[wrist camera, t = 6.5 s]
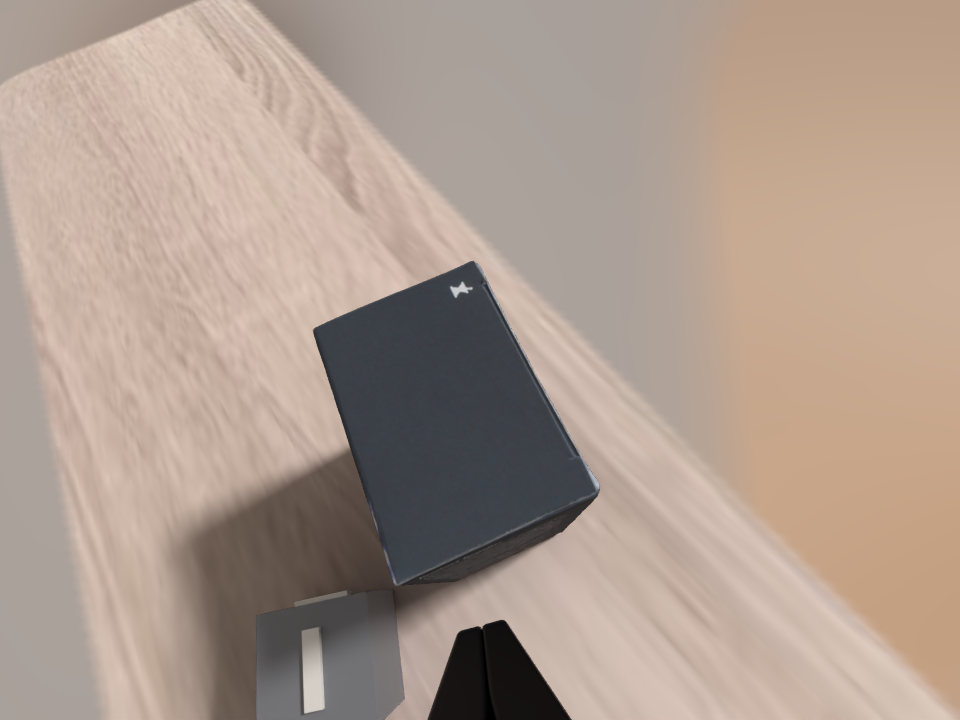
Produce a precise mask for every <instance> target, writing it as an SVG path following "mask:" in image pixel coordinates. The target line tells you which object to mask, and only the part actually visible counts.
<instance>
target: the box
mask: <svg viewBox="0 0 960 720" xmlns="http://www.w3.org/2000/svg"><path fill="white" fill-rule="evenodd" d="M313 333H314V337H315V340H316V343H317V347H318V350H319V353H320V356H321V359H322V361H323V364H324V367H325V370H326V373H327V377H328V380H329V383H330V386H331V389H332V392H333V395H334V398H335V402H336V405H337V408H338V411H339V414H340V417H341V420H342V423H343V426H344V429H345V433H346V436H347V439H348V442H349V445H350V449H351V452H352V455H353V458H354V461H355V464H356V467H357V470H358V473H359V476H360V479H361V482H362V486H363V489H364V492H365V495H366V498H367V501H368V503H369V506H370V509H371V513H372V516H373V519H374V523H375V526H376V529H377V532H378V535H379V538H380V541H381V544H382V547H383V550H384V554H385V557H386V561H387V564H388V567H389V570H390V574H391V577H392V580H393V583H394V585H396V586H404V585H413V584H429V583H440V582H453V581H457V580H459V579H461V578H463V577H465V576H467V575H469V574H472V573H474V572H476V571H478V570H480V569H482V568H485V567H487V566H489V565H491V564H493V563H495V562H497V561H499V560H502V559H504V558H506V557H508V556H510V555H512V554H515V553H517V552H519V551H521V550H523V549H525V548H527V547H530V546H532V545H534V544H536V543H538V542H541V541H543V540H545V539H547V538H549V537H551V536H554V535H555V534H557V533H560V532H563V531H564V530H565V529H566V528H567V527H568V526H569V524H571V523H572V522H573V521H574V520H575V519H576V518H577V517H578V516H579V515H580V514H581V513H582V511H584V510H585V509H586V508H587V507H588V506H589V505H590V504H591V503H592V502H593V501H594V499H595V498H596V497H597V496H598V494H599V491H600V484H599V482H598V480H597V479H596V477H595V476H594V475H593V473H592V472H591V470H590V469H589V467H588V465H587V464H586V462H585V461H584V459H583V457H582V456H581V454H580V452H579V450H578V449H577V447H576V445H575V443H574V442H573V440H572V438H571V437H570V435H569V433H568V431H567V430H566V428H565V426H564V424H563V422H562V420H561V418H560V417H559V415H558V413H557V411H556V409H555V407H554V405H553V404H552V402H551V400H550V399H549V397H548V395H547V393H546V391H545V390H544V388H543V386H542V384H541V383H540V381H539V379H538V377H537V376H536V374H535V372H534V370H533V368H532V366H531V364H530V362H529V360H528V358H527V356H526V354H525V352H524V351H523V349H522V347H521V345H520V343H519V341H518V339H517V337H516V335H515V334H514V332H513V330H512V328H511V327H510V325H509V323H508V320H507V318H506V316H505V314H504V313H503V311H502V309H501V307H500V305H499V303H498V301H497V299H496V297H495V295H494V293H493V291H492V289H491V287H490V285H489V283H488V281H487V279H486V277H485V275H484V273H483V271H482V269H481V267H480V266H479V264H478V263H475V262H474V261H470V262H468V263H466V264H464V265H462V266H460V267H458V268H455V269H453V270H451V271H448V272H446V273H444V274H441V275H439V276H436V277H434V278H432V279H429V280H427V281H424V282H422V283H419V284H417V285H414V286H412V287H409V288H407V289H405V290H402V291H400V292H397V293H394V294H392V295H390V296H387V297H385V298H382V299H380V300H377V301H375V302H372V303H370V304H368V305H365V306H363V307H360V308H358V309H356V310H353V311H351V312H349V313H347V314H344V315H342V316H340V317H337V318H335V319H333V320H331V321H328V322H326V323H324V324H322V325H320V326H318V327H316V328H314V330H313Z"/></svg>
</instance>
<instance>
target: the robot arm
mask: <svg viewBox="0 0 960 720" xmlns="http://www.w3.org/2000/svg"><path fill="white" fill-rule="evenodd" d="M428 720H572V719H571V718H570V716H569V715H568V713H567V712H566V710H565V709H564V707H563V706H562V704H561V703H560V701H559V700H558V698H557V697H556V695H555V694H554V692H553V691H552V689H551V688H550V686H549V685H548V683H547V682H546V680H545V679H544V677H543V676H542V674H541V673H540V671H539V670H538V668H537V667H536V666H535V664H534V663H533V661H532V660H531V658H530V657H529V655H528V654H527V652H526V651H525V649H524V648H523V646H522V645H521V643H520V642H519V640H518V639H517V637H516V636H515V634H514V633H513V631H512V630H511V628H510V627H509V625H508V624H507V622H506V621H504V620H499V621H495V622H492V623H488V624H485V625H484V626H483V628H481V627H478V626H477V627H473V628H469V629H466V630H462V631H460V632H459V633H458V634H457V636H456V639H455V642H454V645H453V648H452V651H451V653H450V656H449V659H448V662H447V665H446V668H445V671H444V674H443V677H442V679H441V682H440V685H439V688H438V691H437V694H436V697H435V700H434V703H433V705H432V708H431V711H430V714H429V717H428Z"/></svg>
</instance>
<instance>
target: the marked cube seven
mask: <svg viewBox="0 0 960 720" xmlns="http://www.w3.org/2000/svg"><path fill="white" fill-rule="evenodd" d="M404 699H405V696H404V687H403V678H402V669H401V659H400V650H399V641H398V632H397V622H396V613H395V604H394V594H393V589H388V590H376V591H365V592H361V593H356V594H352V591H351V590H346V591H341V592H337V593H332V594H327V595H323V596H318V597H314V598H309V599H305V600H300V601H295V602H294V607H292V608H288V609H283V610H278V611H274V612H269V613H265V614H260V615H256V720H384V719H385V718H386V717H387V716H388V715H389V714H390V713H391V712H392V711H393V710H394V709H395V708H396V707H397V706H398V705H399V704H400V703H401V702H402V701H403V700H404Z"/></svg>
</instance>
